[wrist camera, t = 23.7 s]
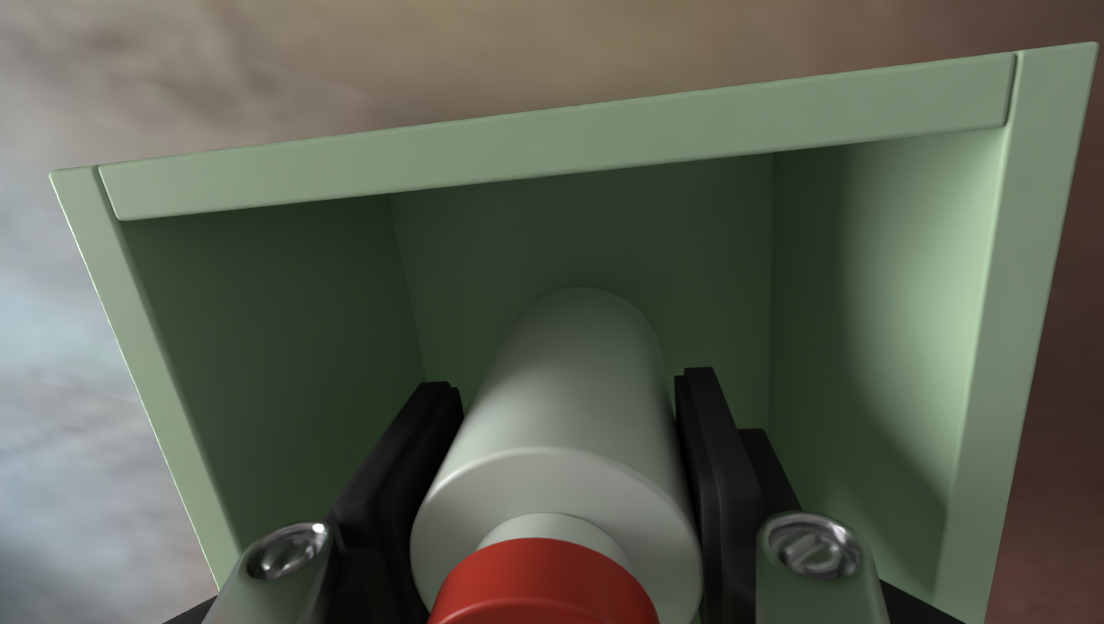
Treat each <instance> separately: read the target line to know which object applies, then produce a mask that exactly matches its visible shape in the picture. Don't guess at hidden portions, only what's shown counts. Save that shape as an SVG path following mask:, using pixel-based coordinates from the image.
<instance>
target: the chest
mask: <svg viewBox="0 0 1104 624" xmlns="http://www.w3.org/2000/svg"><path fill="white" fill-rule="evenodd" d="M1098 50H1099V43H1097V42H1093V41H1091V42H1083V43H1075V44H1067V45H1059V46H1051V47H1043V48H1035V49H1027V50H1019V51H1013V52H1003V53H995V54H987V55H979V56H971V57H962V58H954V59H946V60H938V61H930V62H922V63H914V64H906V65H898V66H890V67H882V68H874V69H866V70H858V71H850V72H841V73H833V74H825V75H817V76H809V77H801V78H793V79H785V80H777V81H769V82H761V83H753V84H745V85H737V86H728V87H720V88H712V89H704V90H696V91H688V92H680V93H672V94H664V95H656V96H648V97H640V98H632V99H624V100H616V101H607V102H599V103H591V104H583V105H575V106H567V107H559V108H551V109H543V110H535V111H527V112H519V113H511V114H503V115H494V116H486V117H478V118H470V119H462V120H454V121H446V122H438V123H430V124H422V125H414V126H406V127H398V128H390V129H382V130H373V131H365V132H357V133H349V134H341V135H333V136H325V137H317V138H309V139H301V140H293V141H285V142H277V143H269V144H260V145H252V146H244V147H236V148H228V149H220V150H212V151H204V152H196V153H188V154H180V155H172V156H164V157H156V158H148V159H139V160H131V161H123V162H115V163H107V164H101V165H91V166H83V167H75V168H67V169H59V170H54V171H52V172H51V173H49V178H50V180H51V183H52V185H53V188H54V190H55V192H56V195H57V197H58V200H59V202H60V205H61V207H62V209H63V212H64V214H65V217H66V219H67V222H68V224H69V227H70V229H71V231H72V234H73V236H74V239H75V241H76V244H77V246H78V248H79V251H80V253H81V256H82V258H83V261H84V263H85V266H86V268H87V270H88V273H89V275H90V278H91V280H92V283H93V285H94V287H95V290H96V292H97V295H98V297H99V300H100V302H101V304H102V307H103V309H104V312H105V314H106V317H107V319H108V322H109V324H110V326H111V329H112V331H113V334H114V336H115V339H116V341H117V343H118V346H119V348H120V351H121V353H122V356H123V358H124V361H125V363H126V365H127V368H128V370H129V373H130V375H131V378H132V380H133V382H134V385H135V387H136V390H137V392H138V395H139V397H140V399H141V402H142V404H143V407H144V409H145V412H146V414H147V417H148V419H149V421H150V424H151V426H152V429H153V431H154V434H155V436H156V438H157V441H158V443H159V446H160V448H161V451H162V453H163V456H164V458H165V460H166V463H167V465H168V468H169V470H170V473H171V475H172V477H173V480H174V482H175V485H176V487H177V490H178V492H179V494H180V497H181V499H182V502H183V504H184V507H185V509H186V512H187V514H188V516H189V519H190V521H191V524H192V526H193V529H194V531H195V533H196V536H197V538H198V541H199V543H200V546H201V548H202V550H203V553H204V555H205V558H206V560H207V563H208V565H209V568H210V570H211V572H212V575H213V577H214V580H215V582H216V585H217V587H218V589H219V592H220V591H221V589H222V587H223V585H224V584H225V582H226V580H227V578H228V577H229V575H230V573H231V571H232V570H233V568H234V566H235V564H236V563H237V561H238V559H239V558H240V557H241V555H242V554H243V553H244V551H245V550H246V549H247V548H248V547H249V546H250V545H251V544H252V543H254V542H255V541H256V540H257V539H258V538H260V537H261V536H263V535H265V534H266V533H268V532H270V531H271V530H273V529H276V528H278V527H280V526H282V525H285V524H288V523H291V522H295V521H299V520H309V519H314V520H320V521H322V520H323V519H324V517H325V516H326V515H327V513H328V512H329V510H330V509H331V508H332V503H333V502H334V501H335V499H336V498H337V496H338V495H339V494H340V492H341V491H342V490H343V488H344V487H345V485H346V484H347V483H348V481H349V480H350V479H351V477H352V476H353V475H354V473H355V472H356V470H357V469H358V468H359V466H360V465H361V464H362V462H363V461H364V459H365V458H366V457H367V455H368V454H369V453H370V451H371V450H372V448H373V447H374V446H375V444H376V443H377V442H378V440H379V439H380V438H381V436H382V435H383V433H384V432H385V431H386V429H387V428H388V427H389V425H390V424H391V422H392V421H393V420H394V418H395V417H396V416H397V414H398V413H399V412H400V410H401V409H402V407H403V406H404V405H405V403H406V402H407V401H408V399H409V398H410V396H411V395H412V394H413V392H414V391H415V390H416V388H417V387H418V386H419V384H420V383H421V382H438V381H448V382H449V383H450V385H451V387H457V388H458V390H459V392H460V397H461V402H462V407H463V413H464V418H465V416H466V414H467V412H468V410H469V408H470V406H471V404H472V402H473V400H474V398H475V396H476V394H477V392H478V390H479V388H480V386H481V384H482V382H483V380H484V378H485V376H486V374H487V372H488V370H489V368H490V366H491V364H492V362H493V360H494V358H495V356H496V354H497V352H498V350H499V348H500V346H501V344H502V342H503V340H504V338H505V336H506V334H507V332H508V330H509V328H510V326H511V324H512V323H513V321H514V319H515V318H516V317H517V316H518V314H519V313H520V312H521V311H522V310H523V309H524V308H525V307H526V306H527V305H528V304H530V303H531V302H533V301H534V300H536V299H537V298H539V297H541V296H543V295H545V294H547V293H550V292H553V291H555V290H560V289H564V288H572V287H589V288H595V289H600V290H604V291H607V292H610V293H613V294H615V295H617V296H620V297H621V298H623V299H625V300H626V301H628V302H630V303H631V304H632V305H633V306H635V307H636V308H637V309H638V310H639V311H640V312H641V313H642V314H643V315H644V316H645V317H646V319H647V320H648V321H649V323H650V324H651V325H652V327H653V329H654V331H655V333H656V335H657V338H658V340H659V343H660V348H661V352H662V357H663V362H664V367H665V371H666V376H667V381H668V386H669V391H670V396H671V401H672V406H673V411H674V415H675V420H676V411H675V388H674V376H675V375H684V368H693V367H711V366H712V367H713V369H714V371H715V374H716V376H717V379H718V382H719V384H720V387H721V389H722V392H723V394H724V397H725V399H726V402H727V404H728V407H729V409H730V412H731V414H732V417H733V419H734V422H735V425H736V427H737V429H752V428H761V429H763V430H764V431H765V433H766V435H767V437H768V439H769V441H770V443H771V445H772V447H773V449H774V451H775V453H776V455H777V458H778V460H779V462H780V464H781V466H782V468H783V470H784V472H785V474H786V476H787V478H788V480H789V483H790V485H791V487H792V489H793V491H794V493H795V495H796V497H797V499H798V501H799V503H800V505H801V507H802V510H803V511H812V512H816V513H821V514H825V515H828V516H830V517H832V518H835V519H837V520H840V521H842V522H843V523H845V524H846V525H848V526H849V527H851V528H853V529H854V530H856V531H857V532H858V534H859V535H860V536H861V537H862V538H863V539H864V540H865V541H866V542H867V544H868V546H869V548H870V550H871V552H872V554H873V558H874V562H875V565H876V569H877V573H878V577H879V578H880V579H881V580H883V581H885V582H887V583H889V584H891V585H893V586H895V587H897V588H899V589H901V590H903V591H905V592H906V593H908V594H910V595H912V596H914V597H916V598H918V599H920V600H922V601H924V602H926V603H928V604H930V605H931V606H933V607H935V608H937V609H939V610H941V611H943V612H945V613H947V614H949V615H951V616H953V617H955V618H957V619H958V620H960V621H962V622H964V623H966V624H984V619H985V614H986V609H987V604H988V599H989V594H990V589H991V584H992V579H993V574H994V569H995V564H996V559H997V554H998V549H999V544H1000V539H1001V534H1002V529H1003V524H1004V519H1005V514H1006V509H1007V504H1008V499H1009V494H1010V489H1011V484H1012V479H1013V474H1014V469H1015V464H1016V459H1017V454H1018V449H1019V444H1020V439H1021V434H1022V429H1023V424H1024V419H1025V414H1026V409H1027V404H1028V399H1029V394H1030V389H1031V384H1032V379H1033V374H1034V369H1035V364H1036V359H1037V354H1038V349H1039V344H1040V339H1041V334H1042V329H1043V324H1044V319H1045V315H1046V310H1047V305H1048V300H1049V295H1050V290H1051V285H1052V280H1053V275H1054V270H1055V265H1056V260H1057V255H1058V250H1059V245H1060V240H1061V235H1062V230H1063V225H1064V220H1065V215H1066V210H1067V205H1068V200H1069V195H1070V190H1071V185H1072V180H1073V175H1074V170H1075V165H1076V160H1077V155H1078V150H1079V145H1080V140H1081V135H1082V130H1083V125H1084V120H1085V115H1086V110H1087V105H1088V100H1089V95H1090V90H1091V85H1092V80H1093V75H1094V70H1095V65H1096V60H1097V55H1098ZM691 624H701V621H700V615H699V609H698V611H697V613H696V615H695V617H694V619H693V621H692V623H691Z"/></svg>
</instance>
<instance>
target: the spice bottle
mask: <svg viewBox="0 0 1104 624" xmlns="http://www.w3.org/2000/svg"><path fill="white" fill-rule="evenodd" d="M409 554H410V564H411V572H412V576H413V579H414V583H415V586H416V588H417V591H418V593H419V595H420V598H421V600H422V602H423V603H424V605H425V606H426V608H427V610H428V611H429V613H430V616H429V618H428V621H427V624H691V623H692V621H693V619H694V617H695V615H696V613H697V611H698V608H699V605H700V602H701V599H702V595H703V586H704V580H703V557H702V548H701V543H700V538H699V534H698V529H697V524H696V519H695V514H694V509H693V504H692V499H691V494H690V489H689V485H688V480H687V475H686V470H685V465H684V460H683V455H682V450H681V445H680V440H679V436H678V431H677V426H676V420H675V415H674V411H673V406H672V401H671V396H670V391H669V386H668V381H667V376H666V371H665V367H664V362H663V357H662V352H661V348H660V343H659V340H658V338H657V335H656V333H655V331H654V329H653V327H652V325H651V324H650V323H649V321H648V320H647V319H646V317H645V316H644V315H643V314H642V313H641V312H640V311H639V310H638V309H637V308H636V307H635V306H633V305H632V304H631V303H630V302H628V301H626V300H625V299H623V298H621V297H620V296H617V295H615V294H613V293H610V292H607V291H604V290H600V289H595V288H589V287H572V288H564V289H560V290H555V291H553V292H550V293H547V294H545V295H543V296H541V297H539V298H537V299H536V300H534V301H533V302H531V303H530V304H528V305H527V306H526V307H525V308H524V309H523V310H522V311H521V312H520V313H519V314H518V316H517V317H516V318H515V319H514V321H513V323H512V324H511V326H510V328H509V330H508V332H507V334H506V336H505V338H504V340H503V342H502V344H501V346H500V348H499V350H498V352H497V354H496V356H495V358H494V360H493V362H492V364H491V366H490V368H489V370H488V372H487V374H486V376H485V378H484V380H483V382H482V384H481V386H480V388H479V390H478V392H477V394H476V396H475V398H474V400H473V402H472V404H471V406H470V408H469V410H468V412H467V414H466V416H465V418H464V420H463V422H462V424H461V426H460V428H459V430H458V432H457V434H456V436H455V438H454V440H453V442H452V444H451V446H450V448H449V450H448V452H447V454H446V456H445V458H444V460H443V462H442V464H441V466H440V468H439V470H438V472H437V474H436V476H435V478H434V480H433V482H432V484H431V486H430V488H429V490H428V492H427V494H426V496H425V498H424V500H423V502H422V504H421V506H420V508H419V510H418V513H417V515H416V518H415V520H414V523H413V527H412V532H411V536H410V551H409Z"/></svg>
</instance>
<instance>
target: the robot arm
mask: <svg viewBox="0 0 1104 624" xmlns="http://www.w3.org/2000/svg"><path fill="white" fill-rule="evenodd" d="M674 388H675V411H676V426H677V431H678V436H679V440H680V445H681V450H682V455H683V460H684V465H685V470H686V475H687V480H688V485H689V489H690V494H691V499H692V504H693V509H694V514H695V519H696V524H697V529H698V534H699V538H700V543H701V548H702V557H703V580H704V586H703V595H702V599H701V602H700V605H699V608H698V609H699V615H700V621H701V624H966V623H964V622H962V621H960V620H958V619H957V618H955V617H953V616H951V615H949V614H947V613H945V612H943V611H941V610H939V609H937V608H935V607H933V606H931V605H930V604H928V603H926V602H924V601H922V600H920V599H918V598H916V597H914V596H912V595H910V594H908V593H906V592H905V591H903V590H901V589H899V588H897V587H895V586H893V585H891V584H889V583H887V582H885V581H883V580H881V579H880V578H879V577H878V573H877V569H876V565H875V562H874V558H873V554H872V552H871V550H870V548H869V546H868V544H867V542H866V541H865V540H864V539H863V538H862V537H861V536H860V535H859V534H858V532H857V531H856V530H854V529H853V528H851V527H849V526H848V525H846V524H845V523H843V522H842V521H840V520H837V519H835V518H832V517H830V516H828V515H825V514H821V513H816V512H812V511H803V510H802V507H801V505H800V503H799V501H798V499H797V497H796V495H795V493H794V491H793V489H792V487H791V485H790V483H789V480H788V478H787V476H786V474H785V472H784V470H783V468H782V466H781V464H780V462H779V460H778V458H777V455H776V453H775V451H774V449H773V447H772V445H771V443H770V441H769V439H768V437H767V435H766V433H765V431H764V430H763V429H761V428H752V429H737V427H736V425H735V422H734V419H733V417H732V414H731V412H730V409H729V407H728V404H727V402H726V399H725V397H724V394H723V392H722V389H721V387H720V384H719V382H718V379H717V376H716V374H715V371H714V369H713V367H712V366H711V367H693V368H684V375H675V376H674ZM463 420H464V413H463V407H462V402H461V397H460V392H459V390H458V388H457V387H451V385H450V383H449V382H448V381H438V382H421V383H420V384H419V386H418V387H417V388H416V390H415V391H414V392H413V394H412V395H411V396H410V398H409V399H408V401H407V402H406V403H405V405H404V406H403V407H402V409H401V410H400V412H399V413H398V414H397V416H396V417H395V418H394V420H393V421H392V422H391V424H390V425H389V427H388V428H387V429H386V431H385V432H384V433H383V435H382V436H381V438H380V439H379V440H378V442H377V443H376V444H375V446H374V447H373V448H372V450H371V451H370V453H369V454H368V455H367V457H366V458H365V459H364V461H363V462H362V464H361V465H360V466H359V468H358V469H357V470H356V472H355V473H354V475H353V476H352V477H351V479H350V480H349V481H348V483H347V484H346V485H345V487H344V488H343V490H342V491H341V492H340V494H339V495H338V496H337V498H336V499H335V501H334V502H333V503H332V508H331V509H330V510H329V512H328V513H327V515H326V516H325V517H324V519H323V520H322V521H320V520H314V519H309V520H299V521H295V522H291V523H288V524H285V525H282V526H280V527H278V528H276V529H273V530H271V531H270V532H268V533H266V534H265V535H263V536H261V537H260V538H258V539H257V540H256V541H255V542H254V543H252V544H251V545H250V546H249V547H248V548H247V549H246V550H245V551H244V553H243V554H242V555H241V557H240V558H239V559H238V561H237V563H236V564H235V566H234V568H233V570H232V571H231V573H230V575H229V577H228V578H227V580H226V582H225V584H224V585H223V587H222V589H221V591H220V592H219V594H218V595H217V596H215V597H213V598H211V599H209V600H207V601H205V602H203V603H201V604H199V605H197V606H196V607H194V608H192V609H190V610H188V611H186V612H184V613H182V614H180V615H178V616H176V617H174V618H172V619H170V620H169V621H167V622H165V623H163V624H427V621H428V618H429V616H430V613H429V611H428V610H427V608H426V606H425V605H424V603H423V602H422V600H421V598H420V595H419V593H418V591H417V588H416V586H415V583H414V579H413V576H412V572H411V564H410V554H409V551H410V536H411V532H412V527H413V523H414V520H415V518H416V515H417V513H418V510H419V508H420V506H421V504H422V502H423V500H424V498H425V496H426V494H427V492H428V490H429V488H430V486H431V484H432V482H433V480H434V478H435V476H436V474H437V472H438V470H439V468H440V466H441V464H442V462H443V460H444V458H445V456H446V454H447V452H448V450H449V448H450V446H451V444H452V442H453V440H454V438H455V436H456V434H457V432H458V430H459V428H460V426H461V424H462V422H463Z"/></svg>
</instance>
